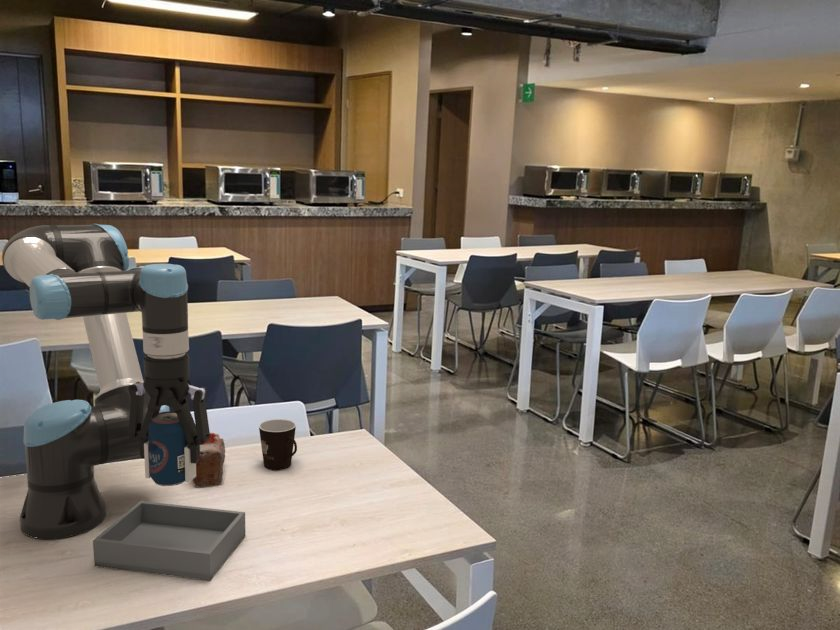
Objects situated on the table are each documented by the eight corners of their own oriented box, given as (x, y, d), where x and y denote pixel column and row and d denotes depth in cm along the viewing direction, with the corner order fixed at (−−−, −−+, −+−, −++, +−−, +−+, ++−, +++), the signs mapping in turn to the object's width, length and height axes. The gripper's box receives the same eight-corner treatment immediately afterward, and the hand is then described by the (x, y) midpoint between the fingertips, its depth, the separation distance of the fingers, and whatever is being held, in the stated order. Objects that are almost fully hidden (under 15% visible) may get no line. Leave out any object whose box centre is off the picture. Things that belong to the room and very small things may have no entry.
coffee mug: (257, 459, 175) (257, 420, 173) (293, 456, 177) (293, 418, 175) (262, 479, 164) (261, 438, 162) (300, 475, 167) (300, 435, 165)
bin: (94, 566, 127) (92, 540, 126) (140, 524, 142) (139, 500, 141) (210, 580, 124) (209, 553, 123) (245, 536, 139) (245, 512, 138)
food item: (189, 465, 171) (188, 425, 169) (223, 461, 173) (223, 422, 171) (191, 489, 158) (189, 447, 156) (228, 485, 161) (227, 443, 159)
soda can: (142, 481, 129) (139, 417, 126) (174, 468, 134) (172, 407, 132) (166, 491, 125) (164, 425, 123) (199, 478, 131) (197, 415, 128)
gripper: (101, 354, 123) (108, 480, 127) (211, 363, 120) (214, 491, 125) (125, 344, 130) (130, 463, 135) (229, 352, 127) (231, 473, 132)
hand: (170, 476), depth 130 cm, fingers closed on soda can, 7 cm apart
